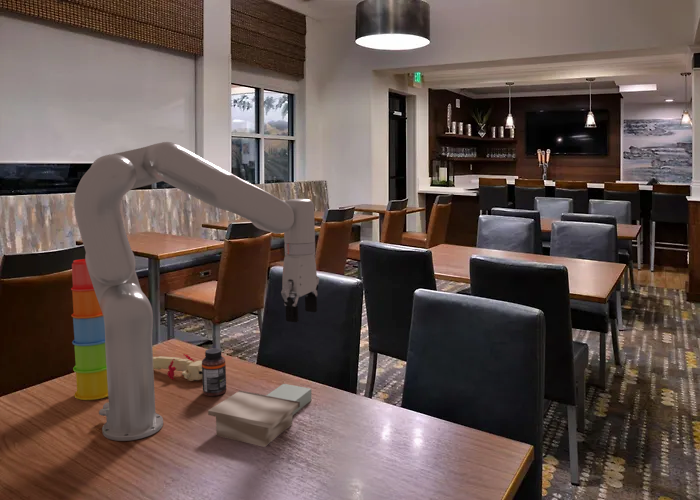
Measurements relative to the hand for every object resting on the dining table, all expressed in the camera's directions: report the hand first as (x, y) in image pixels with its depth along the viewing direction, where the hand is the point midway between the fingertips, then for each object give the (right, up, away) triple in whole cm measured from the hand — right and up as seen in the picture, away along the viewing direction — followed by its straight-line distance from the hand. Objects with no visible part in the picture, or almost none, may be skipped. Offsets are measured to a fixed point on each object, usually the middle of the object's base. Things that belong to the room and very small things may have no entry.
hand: (302, 316), depth 141 cm
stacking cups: (-53, -20, +3) cm, 57 cm away
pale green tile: (-4, -22, -4) cm, 22 cm away
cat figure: (-37, -19, +17) cm, 45 cm away
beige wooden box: (-9, -23, -17) cm, 30 cm away
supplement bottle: (-23, -20, +4) cm, 31 cm away
